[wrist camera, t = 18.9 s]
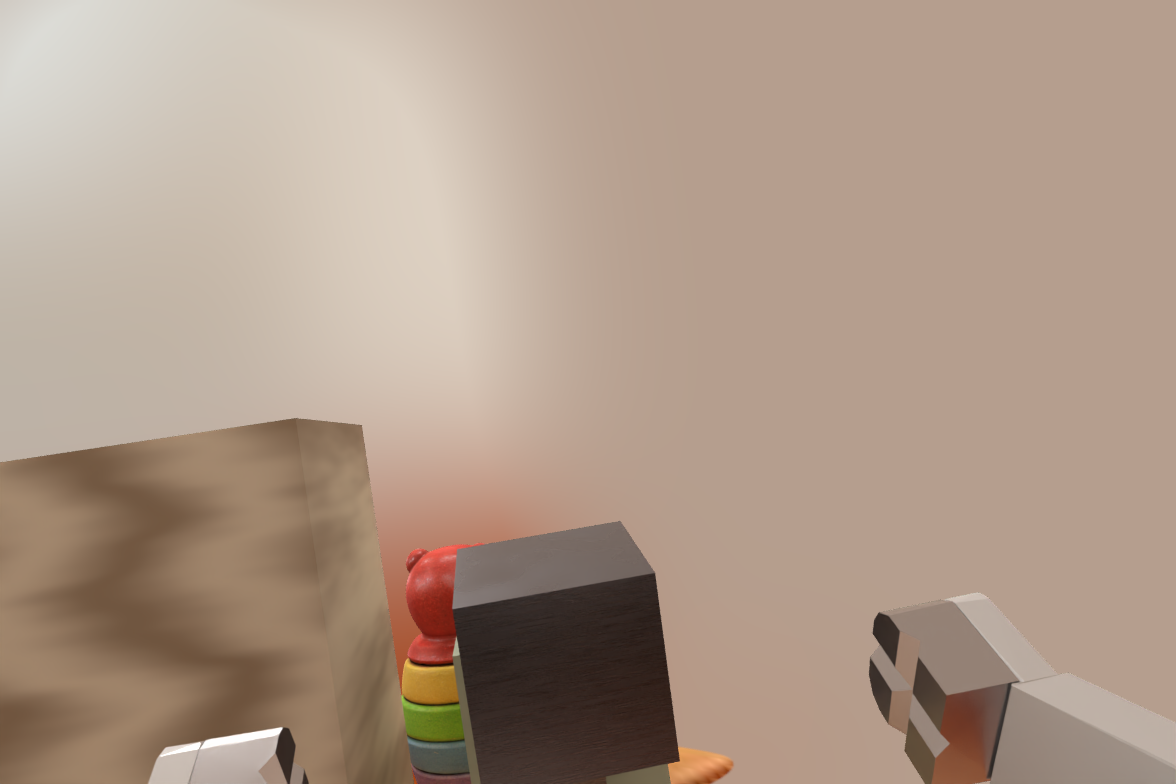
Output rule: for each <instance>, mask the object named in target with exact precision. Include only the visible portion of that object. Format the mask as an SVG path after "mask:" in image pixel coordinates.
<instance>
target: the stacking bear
mask: <svg viewBox="0 0 1176 784" xmlns="http://www.w3.org/2000/svg"><path fill="white" fill-rule="evenodd" d="M479 545H484V544H483V543H478V544H475V545H473V546H479ZM473 546H471V545H452V546H446V547H442V548H439V549H436V550H433V551H431V552H428V551H426V550H424V549H416V550H414V551H413V552H411V553H410V555H409V556H408V558H407V561H406V566H407V570H408V571H409V573H410V575H409V577H408V581H407V585H406V599H407V603H408V608H409V611H410V613H411V616H412V618H413V620H414V621H415V622H416V625H417V626H418V628H419V629H420V630H421V632H422V633H421V634H420V635H419V636H417V637H416V638H415V640H414V641H413V642H412V645H411V646H410V648H409V650H408V657H409V658H408V659H407V660H406V662H405V665H404V672H403V679H402V693H403V695H402V697H401V698H402V705H403V712H404V719H405V725H406V732H407V739H408V746H409V753H410V760H411V764H412V769H413V772H414V775H415V778H416V781H417V783H418V784H471V778H470V772H469V765H468V758H467V751H466V745H465V738H464V731H463V724H462V718H461V711H460V704H459V697H458V691H457V684H456V677H455V671H454V664H453V657H452V656H453V651H454V646H455V641H456V636H457V635H456V629H455V623H454V617H453V611H452V606H453V594H454V581H455V569H456V556H457V549H461V548H467V547H473Z"/></svg>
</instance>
